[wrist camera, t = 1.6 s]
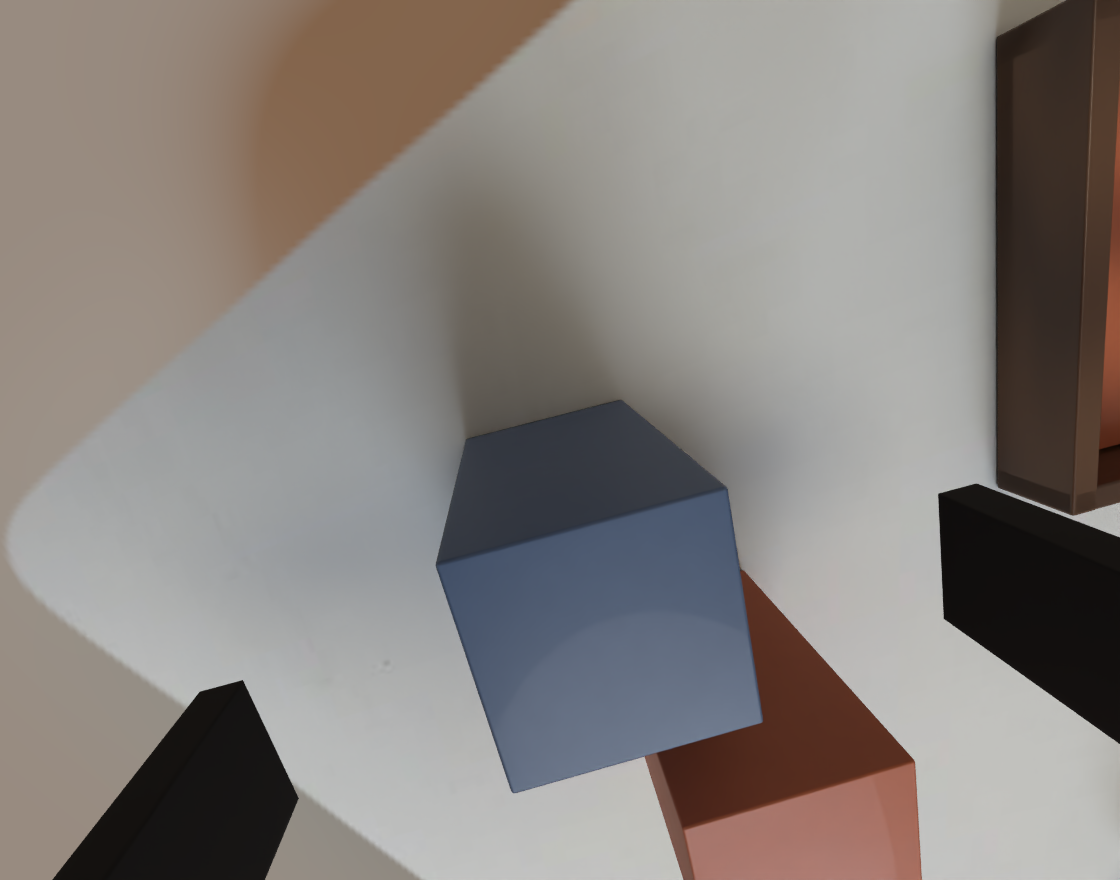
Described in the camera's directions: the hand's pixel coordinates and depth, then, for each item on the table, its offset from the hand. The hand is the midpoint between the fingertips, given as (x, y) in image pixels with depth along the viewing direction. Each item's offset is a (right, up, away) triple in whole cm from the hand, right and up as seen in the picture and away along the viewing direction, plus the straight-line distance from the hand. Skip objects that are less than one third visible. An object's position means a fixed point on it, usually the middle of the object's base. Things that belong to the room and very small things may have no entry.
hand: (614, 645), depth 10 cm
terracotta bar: (+4, -4, +9) cm, 11 cm away
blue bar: (-1, +2, +7) cm, 8 cm away
